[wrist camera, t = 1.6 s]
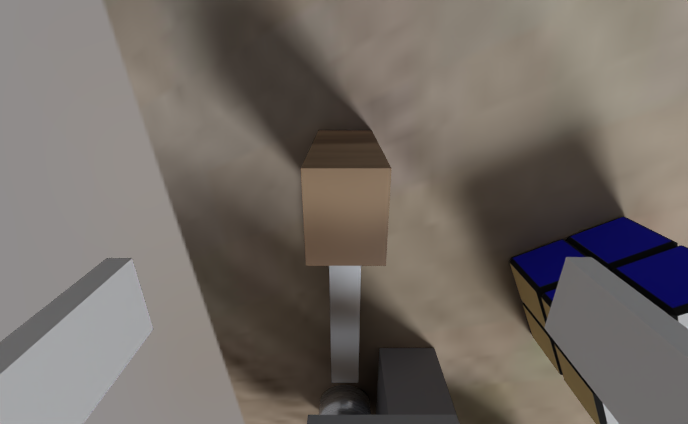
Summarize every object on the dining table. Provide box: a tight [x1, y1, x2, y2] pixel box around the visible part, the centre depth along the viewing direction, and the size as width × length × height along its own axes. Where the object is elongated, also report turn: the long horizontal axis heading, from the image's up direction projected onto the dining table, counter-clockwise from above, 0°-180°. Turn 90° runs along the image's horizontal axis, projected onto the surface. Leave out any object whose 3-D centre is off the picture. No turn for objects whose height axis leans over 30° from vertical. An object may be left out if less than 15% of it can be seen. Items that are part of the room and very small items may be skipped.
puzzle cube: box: [509, 217, 688, 424], centre depth 25 cm, size 10×10×10 cm
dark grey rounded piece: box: [319, 385, 371, 415], centre depth 35 cm, size 6×6×3 cm
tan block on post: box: [301, 130, 391, 383], centre depth 24 cm, size 23×4×11 cm, turn 0°
